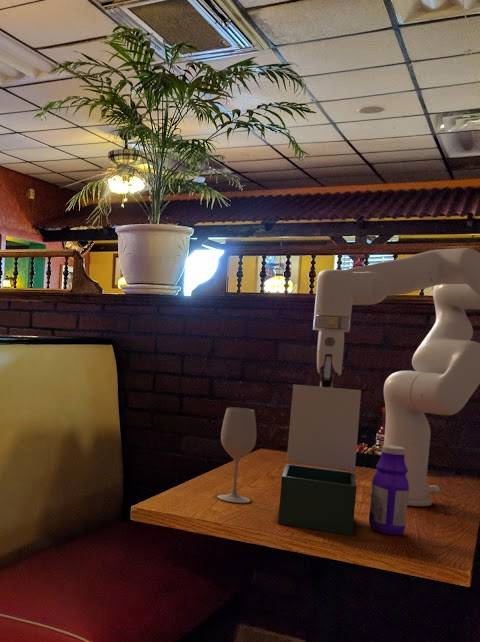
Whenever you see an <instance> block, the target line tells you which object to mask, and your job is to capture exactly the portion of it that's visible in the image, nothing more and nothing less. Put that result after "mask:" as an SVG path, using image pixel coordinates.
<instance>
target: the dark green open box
mask: <svg viewBox="0 0 480 642" xmlns="http://www.w3.org/2000/svg"><path fill="white" fill-rule="evenodd" d="M280 481H281V482H280V492H279V493H280V494H279V507H278V521H277V524H278V525H279V524H280V525H283V526H284V525H285V526H291V527H297V528H303V529H310V530H316V531H321V532H327V533H334V534H340V535H346V536H353V533H354V522H355V510H356V498H357V479H356V474H355V472H352V471H344V470H336V469H331V468H329V469H328V468H323V467H315V466H314V467H313V466H305V465H299V464H298V465H297V464H289V463H286V465H285V467H284V470H283V472H282V475H281V480H280Z"/></svg>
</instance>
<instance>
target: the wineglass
mask: <svg viewBox="0 0 480 642" xmlns="http://www.w3.org/2000/svg"><path fill="white" fill-rule="evenodd" d="M220 441H221V442H220V443H221V445H222V447H223V449H224V450H225V452H226V453H227V454H228V455H229V456H230V457H231V458H232V459H233V461H234V462H233V463H234V467H233V480H232V481H233V482H232V489H231V491H230V493H227V494H218V495H217V496H216V497H217V499H218V500H220V501H223V502H226V503H231V504H233V503H234V504H249V503H251V499H249V498H248V497H245V496H242V495H239V493H238V492H237V482H238V470H239V462H240V461H241V460H242V459H243V458H245V457H246V456H248V455H249V454H250V453H251V452H252V451H253V450H254V449H255V446H256V442H257V422H256V413H255V409H252V408H246V407H232V406H231V407H230V406H229V407H226V409H225V414H224V416H223V421H222V427H221V430H220Z"/></svg>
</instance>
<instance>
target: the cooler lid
mask: <svg viewBox="0 0 480 642" xmlns="http://www.w3.org/2000/svg"><path fill="white" fill-rule="evenodd" d="M361 396H362V390H361V389H351V388H339V387H333V388H329V387H320V386H316V385H307V384H306V385H305V384H293V385H292V397H291V406H290V407H291V408H290V420H289V428H288V430H289V431H288V442H287V452H286V453H287V454H286V463H292V464H298V465H299V464H300V465H308V466H314V467H315V466H316V467H321V468H329V469H331V468H332V469H339V470H347V471H355V472H356V464H357V463H356V462H357V461H356V460H357V449H358V437H359V425H360V411H361V410H360V408H361Z"/></svg>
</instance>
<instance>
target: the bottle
mask: <svg viewBox="0 0 480 642" xmlns="http://www.w3.org/2000/svg"><path fill="white" fill-rule="evenodd" d="M404 456H405V448H403V447H399V446H392V445H384V444H383V445H382V446H381V454H380V458H379V460H378V461H377V463H376V464H375V468H376V472H375V474H374V475H373V477H372V482H371V483H372V484H371V491H370V492H371V494H370V502H369V503H370V506H369V515H368V523H369V526H370V528H371V529H373V530H374V531H377V532H378V533H380V534H383V535H389V536H401V535H403V534H404V533H405V529H406V524H407V523H406V522H407V511H408V505H407V501H408V490H409V484H408V480H407V477H406V473H407V472H408V469H407V467H406V465H405V458H404Z"/></svg>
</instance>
